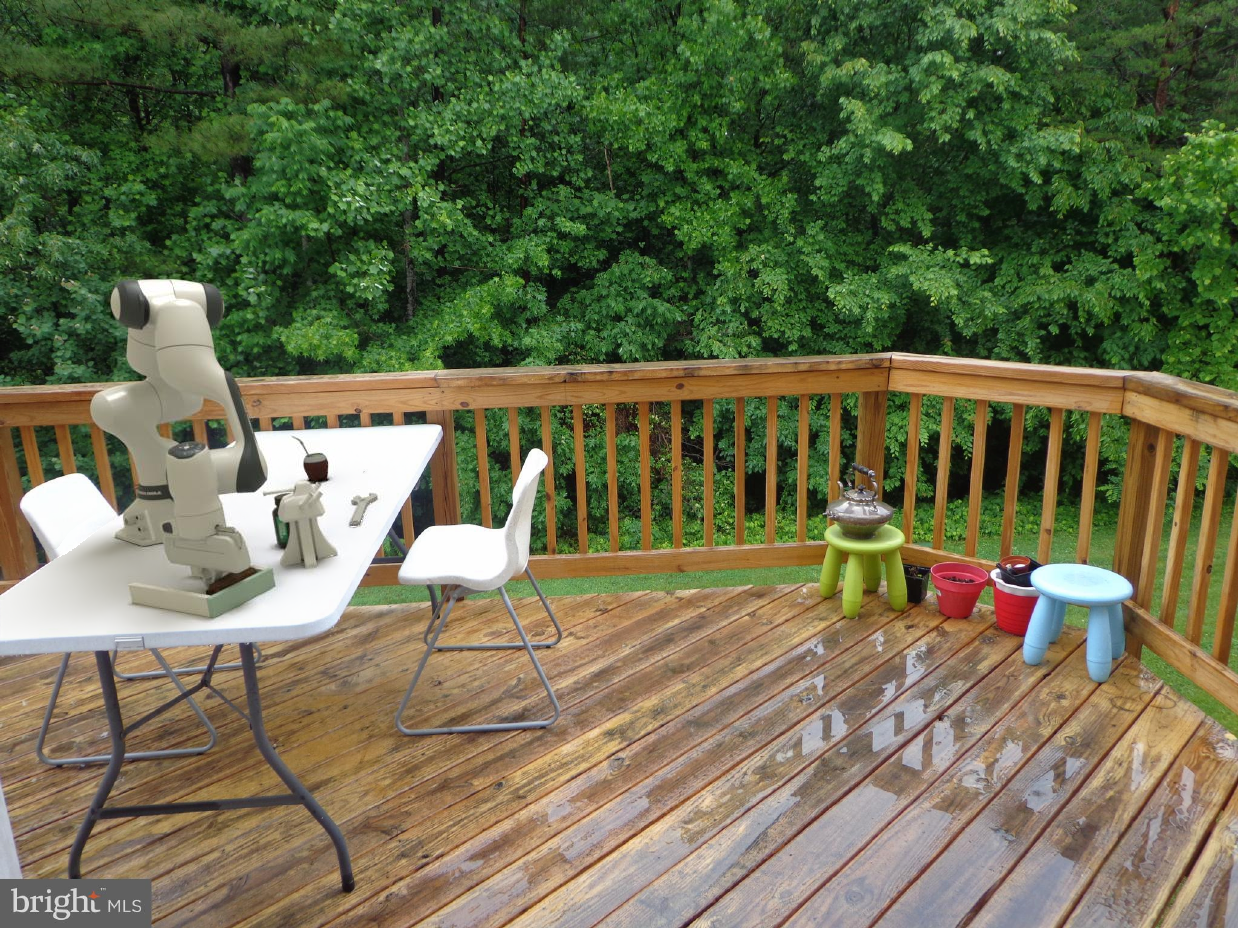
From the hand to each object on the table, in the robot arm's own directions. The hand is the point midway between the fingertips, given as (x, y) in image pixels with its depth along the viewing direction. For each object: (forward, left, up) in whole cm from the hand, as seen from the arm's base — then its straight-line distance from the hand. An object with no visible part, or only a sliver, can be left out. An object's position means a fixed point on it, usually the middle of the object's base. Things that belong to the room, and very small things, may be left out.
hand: (213, 586), depth 178 cm
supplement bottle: (-7, +29, -2) cm, 30 cm away
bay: (-4, 0, -2) cm, 4 cm away
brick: (+4, +1, -2) cm, 5 cm away
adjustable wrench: (-8, +53, -3) cm, 54 cm away
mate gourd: (-40, +73, -2) cm, 83 cm away
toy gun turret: (+4, +22, -2) cm, 22 cm away
